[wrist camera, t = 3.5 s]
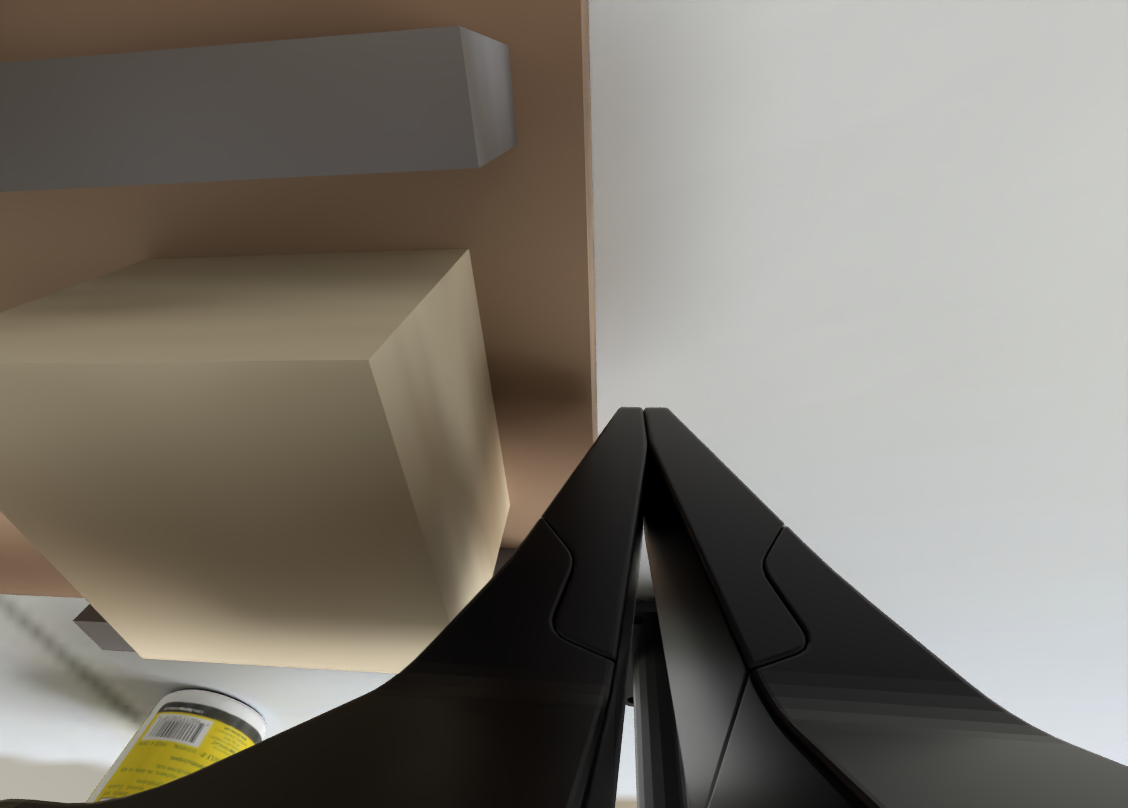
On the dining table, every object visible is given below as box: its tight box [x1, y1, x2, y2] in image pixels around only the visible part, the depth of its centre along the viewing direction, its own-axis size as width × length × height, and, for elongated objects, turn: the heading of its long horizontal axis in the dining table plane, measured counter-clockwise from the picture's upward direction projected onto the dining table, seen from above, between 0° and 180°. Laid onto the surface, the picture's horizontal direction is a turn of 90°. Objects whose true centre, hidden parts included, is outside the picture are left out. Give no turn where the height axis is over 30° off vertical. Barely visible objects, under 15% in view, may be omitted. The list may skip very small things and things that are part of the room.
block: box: [0, 248, 510, 674], centre depth 8 cm, size 6×6×4 cm
